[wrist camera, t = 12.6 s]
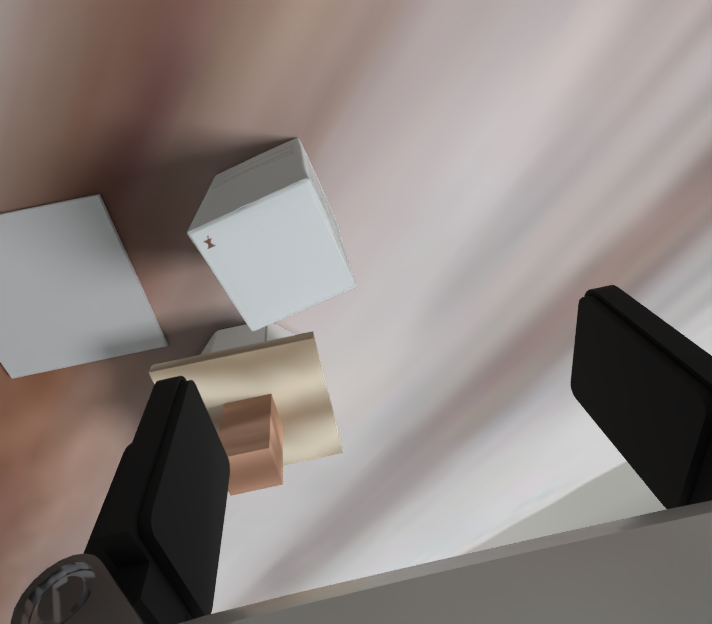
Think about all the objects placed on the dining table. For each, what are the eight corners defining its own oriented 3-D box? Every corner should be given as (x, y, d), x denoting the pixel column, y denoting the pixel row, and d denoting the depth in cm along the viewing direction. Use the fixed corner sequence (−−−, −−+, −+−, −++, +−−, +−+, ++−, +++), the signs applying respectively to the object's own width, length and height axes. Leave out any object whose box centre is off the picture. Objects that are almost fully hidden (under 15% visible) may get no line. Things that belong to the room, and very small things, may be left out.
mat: (-87, 230, 35) (-91, 232, 34) (99, 193, 35) (97, 195, 35) (14, 375, 42) (11, 378, 41) (167, 343, 42) (167, 346, 42)
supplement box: (258, 255, 39) (248, 336, 28) (213, 173, 35) (180, 230, 25) (339, 221, 39) (359, 290, 28) (301, 134, 35) (308, 174, 24)
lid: (151, 364, 37) (125, 427, 31) (313, 331, 37) (318, 387, 31) (205, 474, 43) (192, 543, 37) (341, 444, 44) (350, 508, 38)
